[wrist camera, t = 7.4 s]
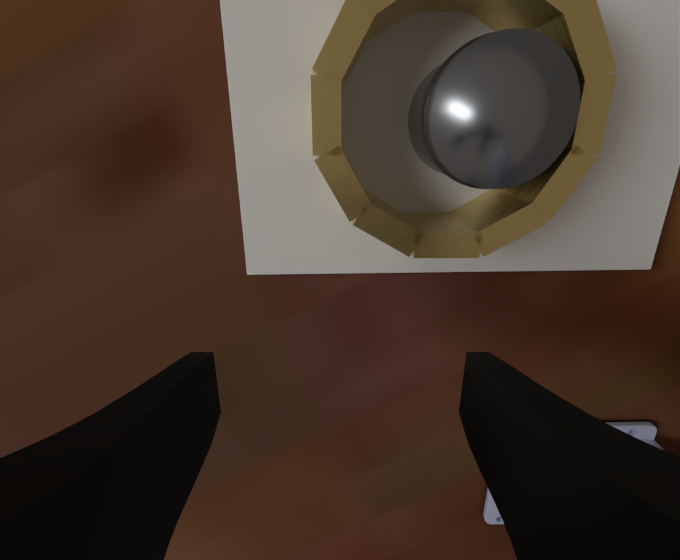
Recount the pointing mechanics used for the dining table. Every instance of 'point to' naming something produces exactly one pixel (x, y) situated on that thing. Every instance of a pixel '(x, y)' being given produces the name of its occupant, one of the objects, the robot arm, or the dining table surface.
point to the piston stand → (449, 135)
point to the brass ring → (496, 204)
